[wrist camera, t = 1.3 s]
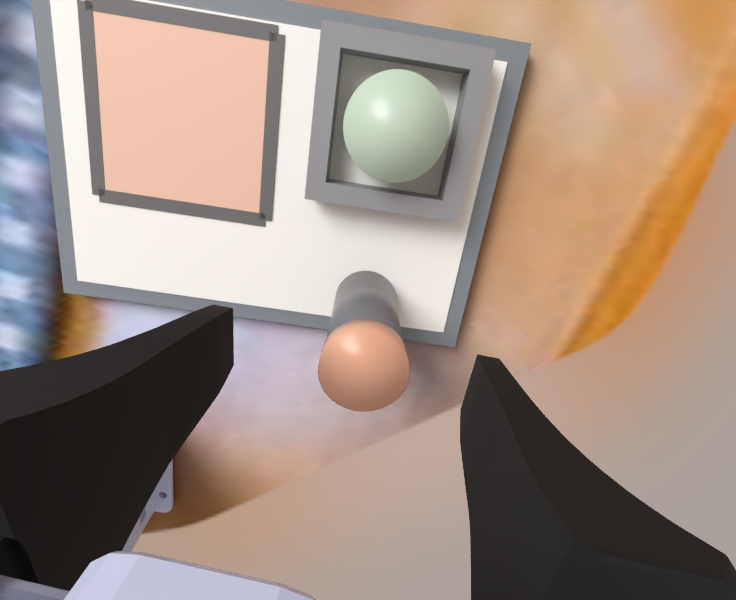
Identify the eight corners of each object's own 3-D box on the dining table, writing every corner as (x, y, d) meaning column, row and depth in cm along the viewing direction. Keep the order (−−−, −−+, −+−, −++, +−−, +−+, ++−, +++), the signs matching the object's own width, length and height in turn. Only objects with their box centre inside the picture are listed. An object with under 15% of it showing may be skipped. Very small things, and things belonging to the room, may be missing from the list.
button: (431, 185, 19) (436, 190, 17) (339, 170, 19) (336, 174, 17) (452, 83, 17) (459, 78, 16) (352, 66, 17) (350, 60, 16)
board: (451, 339, 24) (460, 362, 21) (75, 286, 23) (41, 304, 20) (524, 47, 19) (546, 35, 16) (42, -37, 18) (-8, -62, 15)
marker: (391, 332, 22) (400, 416, 16) (330, 323, 22) (313, 405, 16) (403, 273, 21) (417, 338, 15) (337, 264, 21) (323, 325, 15)
